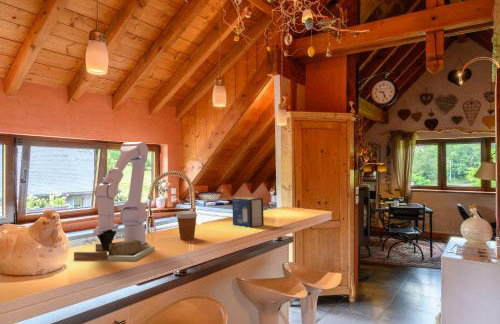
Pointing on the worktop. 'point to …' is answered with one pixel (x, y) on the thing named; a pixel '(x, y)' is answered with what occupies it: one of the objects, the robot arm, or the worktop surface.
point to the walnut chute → (91, 254)
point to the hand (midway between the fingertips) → (106, 250)
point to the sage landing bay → (133, 258)
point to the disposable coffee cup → (186, 224)
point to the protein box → (248, 211)
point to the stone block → (124, 248)
